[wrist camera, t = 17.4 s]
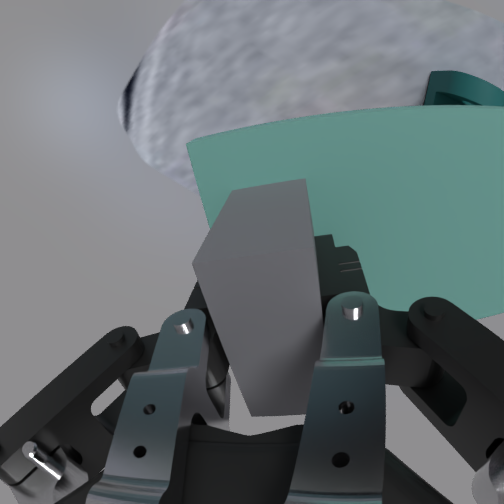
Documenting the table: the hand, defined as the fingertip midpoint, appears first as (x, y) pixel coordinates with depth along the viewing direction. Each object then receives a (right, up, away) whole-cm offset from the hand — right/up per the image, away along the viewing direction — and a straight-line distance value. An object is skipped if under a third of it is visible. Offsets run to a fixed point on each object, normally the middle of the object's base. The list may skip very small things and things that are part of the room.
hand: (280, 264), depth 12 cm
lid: (+5, +1, +1) cm, 5 cm away
